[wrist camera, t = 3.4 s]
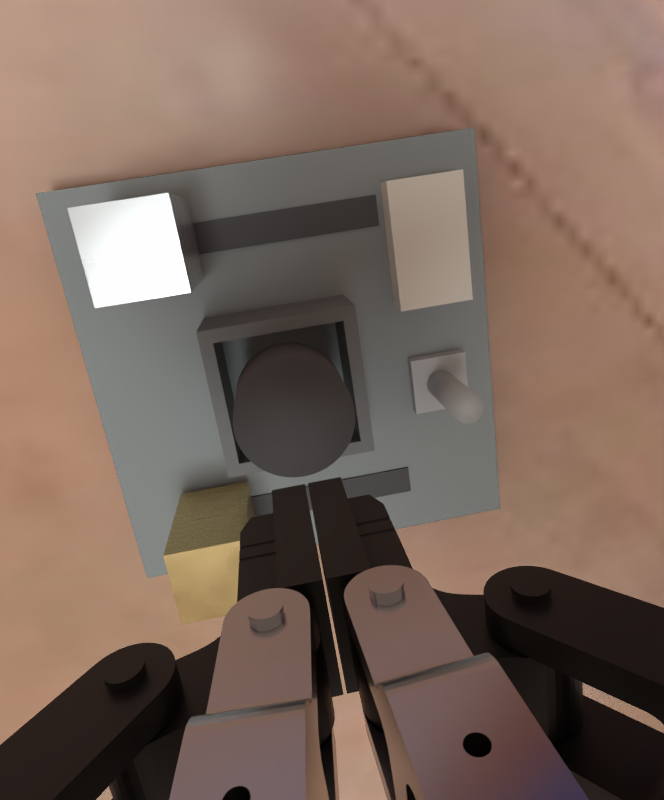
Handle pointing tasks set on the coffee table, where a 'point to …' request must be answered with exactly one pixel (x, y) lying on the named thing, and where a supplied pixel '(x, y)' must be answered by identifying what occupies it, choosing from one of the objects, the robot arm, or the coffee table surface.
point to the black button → (292, 411)
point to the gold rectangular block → (207, 550)
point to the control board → (303, 328)
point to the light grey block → (137, 248)
